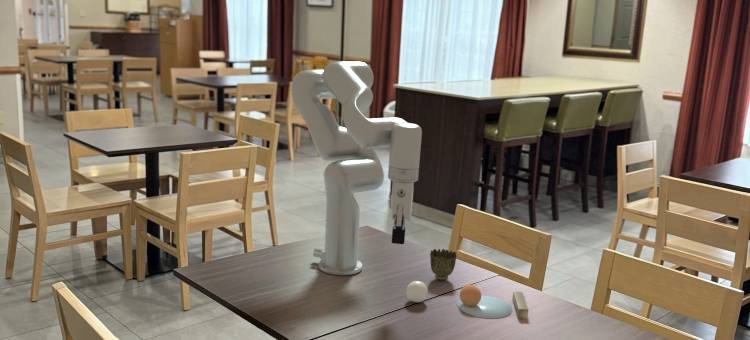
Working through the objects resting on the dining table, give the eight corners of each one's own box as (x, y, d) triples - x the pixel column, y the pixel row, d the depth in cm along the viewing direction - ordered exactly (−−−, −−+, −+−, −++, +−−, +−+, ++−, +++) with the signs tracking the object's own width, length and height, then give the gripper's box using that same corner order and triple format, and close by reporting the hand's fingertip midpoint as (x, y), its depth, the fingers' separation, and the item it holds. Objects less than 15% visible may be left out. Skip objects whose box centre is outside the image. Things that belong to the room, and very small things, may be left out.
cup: (453, 286, 189) (455, 258, 188) (426, 282, 191) (428, 255, 189) (455, 276, 196) (458, 250, 195) (430, 273, 198) (432, 247, 196)
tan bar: (517, 318, 171) (518, 308, 170) (512, 300, 182) (513, 291, 181) (527, 318, 171) (528, 309, 170) (521, 301, 182) (522, 292, 181)
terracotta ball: (483, 286, 174) (486, 306, 175) (474, 279, 179) (476, 299, 180) (464, 291, 173) (466, 311, 174) (455, 284, 178) (457, 304, 179)
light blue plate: (449, 310, 174) (449, 309, 174) (467, 291, 186) (467, 291, 186) (503, 323, 168) (503, 322, 168) (518, 303, 180) (518, 302, 180)
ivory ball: (427, 281, 174) (432, 301, 176) (421, 275, 180) (425, 294, 181) (407, 288, 173) (412, 308, 174) (401, 281, 179) (406, 301, 180)
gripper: (417, 181, 164) (411, 254, 168) (419, 167, 178) (413, 234, 183) (386, 179, 164) (381, 251, 169) (390, 165, 179) (385, 232, 183)
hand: (397, 242), depth 176 cm, fingers closed
